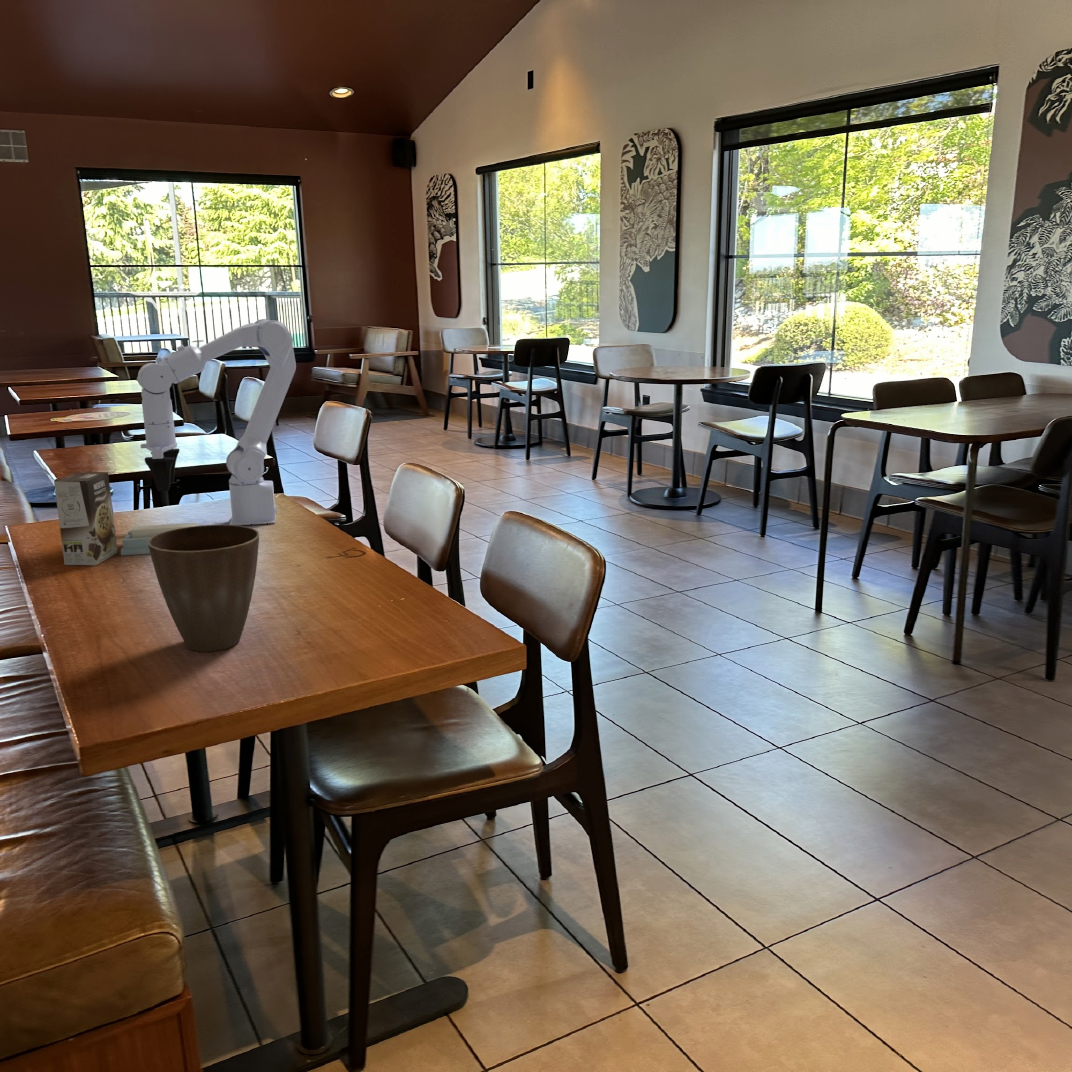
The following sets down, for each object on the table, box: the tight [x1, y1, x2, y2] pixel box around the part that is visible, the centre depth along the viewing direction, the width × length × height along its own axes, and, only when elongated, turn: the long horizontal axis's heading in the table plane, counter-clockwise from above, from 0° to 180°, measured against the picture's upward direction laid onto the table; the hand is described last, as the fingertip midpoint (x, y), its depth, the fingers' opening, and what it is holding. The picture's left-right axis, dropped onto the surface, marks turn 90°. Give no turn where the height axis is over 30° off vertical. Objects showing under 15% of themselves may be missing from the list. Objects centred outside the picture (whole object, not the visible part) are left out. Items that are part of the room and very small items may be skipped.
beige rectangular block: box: [130, 522, 198, 538], centre depth 189 cm, size 12×3×3 cm, turn 104°
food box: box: [53, 471, 118, 566], centre depth 180 cm, size 9×6×16 cm
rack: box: [120, 530, 152, 556], centre depth 189 cm, size 16×9×3 cm, turn 104°
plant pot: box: [148, 524, 260, 653], centre depth 137 cm, size 15×15×16 cm
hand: (165, 487), depth 200 cm, fingers open, 7 cm apart
